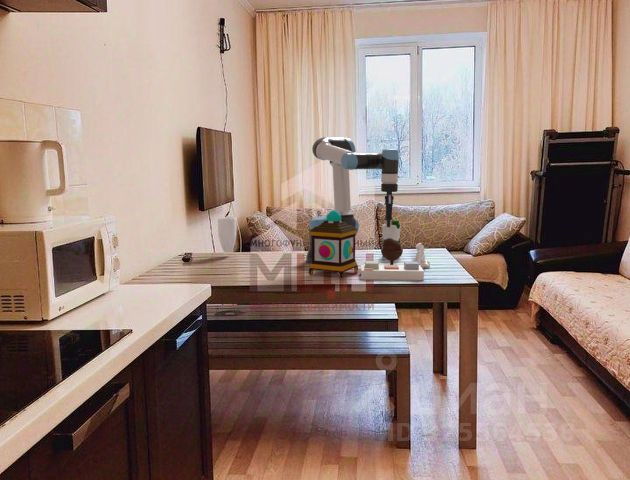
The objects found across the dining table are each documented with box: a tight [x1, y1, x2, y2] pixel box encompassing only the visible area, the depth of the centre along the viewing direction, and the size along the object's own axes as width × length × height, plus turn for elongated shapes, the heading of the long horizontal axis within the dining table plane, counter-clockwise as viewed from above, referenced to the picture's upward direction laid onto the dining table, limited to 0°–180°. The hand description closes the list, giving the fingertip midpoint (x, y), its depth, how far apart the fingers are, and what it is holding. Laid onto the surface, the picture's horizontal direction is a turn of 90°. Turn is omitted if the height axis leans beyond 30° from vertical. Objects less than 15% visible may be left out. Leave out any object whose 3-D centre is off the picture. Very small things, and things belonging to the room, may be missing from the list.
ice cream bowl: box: [380, 238, 404, 265], centre depth 277 cm, size 11×11×15 cm
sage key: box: [364, 260, 380, 269], centre depth 260 cm, size 6×6×4 cm
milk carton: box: [381, 220, 402, 258], centre depth 310 cm, size 9×9×20 cm
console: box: [360, 264, 425, 281], centre depth 259 cm, size 28×14×5 cm, turn 86°
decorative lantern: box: [308, 209, 359, 279], centre depth 264 cm, size 20×20×30 cm
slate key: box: [403, 260, 419, 269], centre depth 259 cm, size 6×6×4 cm
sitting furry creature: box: [412, 242, 431, 269], centre depth 283 cm, size 10×9×12 cm
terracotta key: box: [383, 264, 399, 269], centre depth 259 cm, size 6×6×4 cm
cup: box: [217, 216, 237, 253], centre depth 313 cm, size 10×10×22 cm
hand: (388, 233), depth 264 cm, fingers closed
